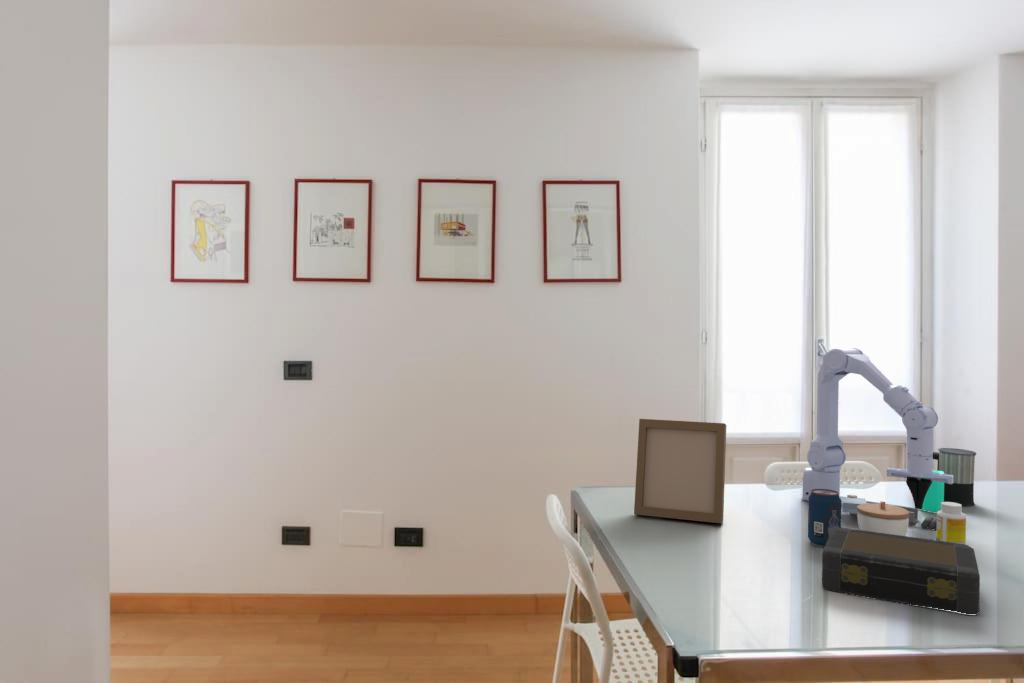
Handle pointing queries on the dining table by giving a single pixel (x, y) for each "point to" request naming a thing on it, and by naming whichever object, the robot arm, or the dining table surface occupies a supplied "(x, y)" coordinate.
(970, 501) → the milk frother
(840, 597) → the dining table surface
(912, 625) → the dining table surface
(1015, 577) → the dining table surface
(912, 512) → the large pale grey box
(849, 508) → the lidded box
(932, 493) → the candle
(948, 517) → the supplement bottle
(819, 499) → the soda can
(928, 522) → the grey ridged block
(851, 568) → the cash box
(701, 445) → the photo frame
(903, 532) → the lidded jar
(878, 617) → the dining table surface
